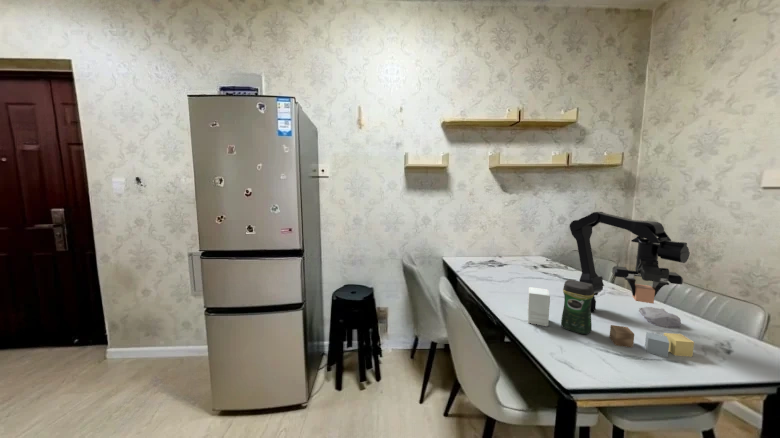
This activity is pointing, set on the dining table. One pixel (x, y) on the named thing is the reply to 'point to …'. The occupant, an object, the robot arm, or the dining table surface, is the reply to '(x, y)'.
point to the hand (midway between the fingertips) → (642, 297)
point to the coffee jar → (577, 306)
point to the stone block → (660, 317)
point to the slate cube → (657, 344)
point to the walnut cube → (621, 336)
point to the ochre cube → (680, 345)
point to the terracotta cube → (644, 293)
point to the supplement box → (538, 306)
